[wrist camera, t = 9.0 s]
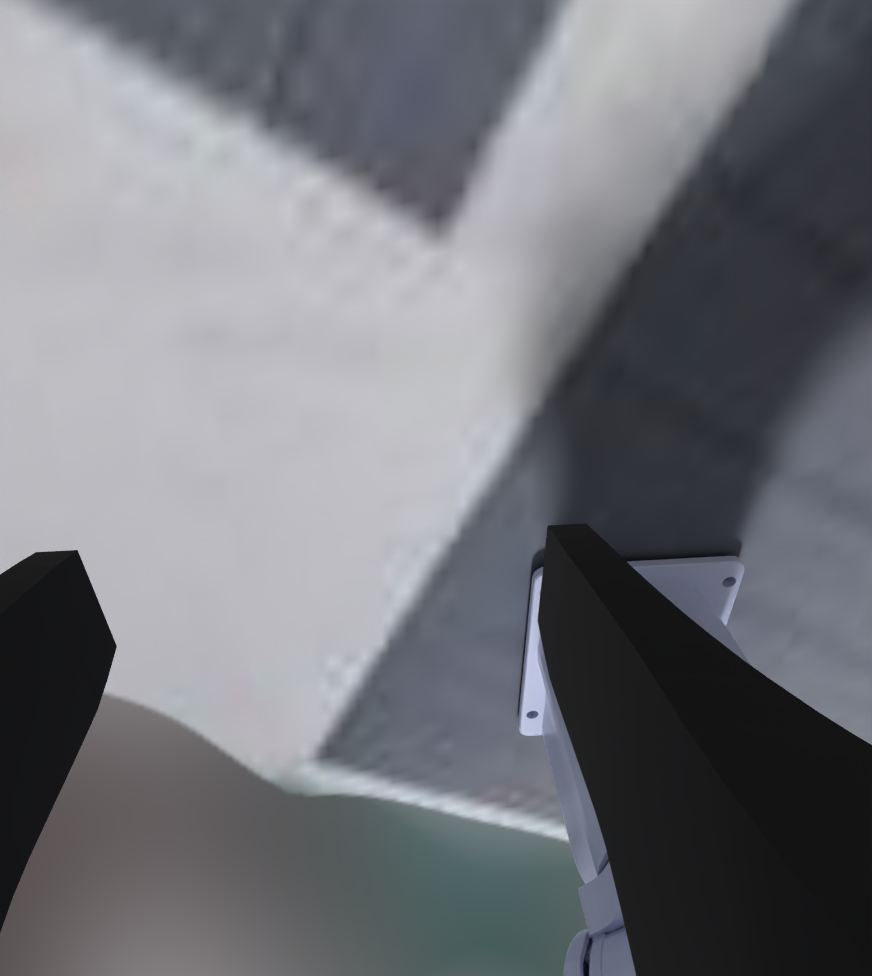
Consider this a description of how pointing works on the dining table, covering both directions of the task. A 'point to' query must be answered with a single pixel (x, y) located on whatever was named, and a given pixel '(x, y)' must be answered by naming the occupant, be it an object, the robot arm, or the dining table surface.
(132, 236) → the dining table surface
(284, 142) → the dining table surface
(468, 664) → the dining table surface
